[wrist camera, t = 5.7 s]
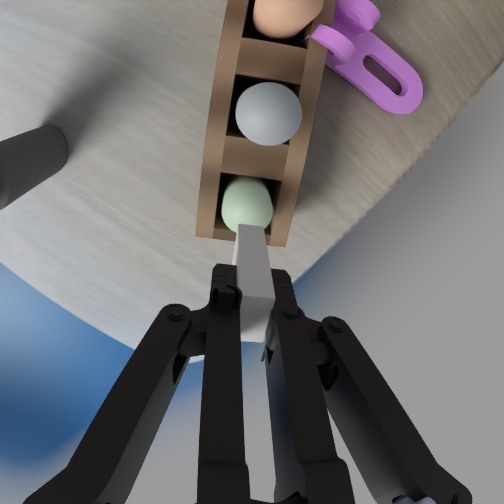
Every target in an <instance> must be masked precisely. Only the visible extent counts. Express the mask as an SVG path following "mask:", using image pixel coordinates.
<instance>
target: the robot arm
mask: <svg viewBox="0 0 504 504" xmlns="http://www.w3.org/2000/svg"><path fill="white" fill-rule="evenodd" d="M265 335H266V345H265V349H264V352H263V356H262V360H261V361H264V358H265V364H266V365H265V366H266V376H267V387H268V398H269V408H270V420H271V431H272V442H273V452H274V463H275V475H276V486H275V490H274V503H268V502H263V501H258V500H253V499H250V484H249V470H248V466H247V464H246V461H245V445H244V420H243V393H242V363H241V341H249V342H264V338H265ZM199 355H205V357H204V371H203V385H202V399H201V416H200V433H199V456H198V480H197V481H198V482H197V503H195V504H355V499H354V494H353V490H352V485H351V479H350V475H349V470H348V467H347V464H346V463H345V461H344V460H342V459H340V458H339V457H338V456H337V453H336V449H335V444H334V439H333V434H332V430H331V425H330V420H329V415H328V411H329V413H330V414H331V416H332V418H333V420H334V422H335V424H336V426H337V428H338V430H339V432H340V434H341V436H342V438H343V440H344V442H345V444H346V446H347V448H348V450H349V452H350V454H351V456H352V458H353V459H354V462H355V463H356V466H357V467H358V469H359V471H360V473H361V475H362V477H363V479H364V481H365V483H366V485H367V487H368V489H369V491H370V492H371V494H372V496H373V498H374V499H375V501H376V502H377V503H378V504H472V495H471V493H470V491H469V490H468V489H467V488H466V487H465V486H464V485H462V484H461V483H460V482H459V481H458V480H456V479H455V478H454V477H453V476H452V475H451V474H449V473H448V472H447V471H446V470H445V469H443V468H442V467H441V466H440V465H439V464H437V462H436V460H435V459H434V457H433V455H432V454H431V452H430V450H429V449H428V447H427V445H426V444H425V442H424V441H423V439H422V437H421V436H420V434H419V433H418V431H417V429H416V428H415V426H414V424H413V423H412V421H411V420H410V418H409V417H408V415H407V414H406V412H405V410H404V409H403V407H402V406H401V404H400V403H399V401H398V399H397V398H396V396H395V395H394V393H393V392H392V390H391V389H390V387H389V385H388V384H387V382H386V381H385V379H384V378H383V376H382V375H381V373H380V372H379V370H378V369H377V367H376V366H375V364H374V363H373V361H372V360H371V358H370V357H369V355H368V354H367V352H366V351H365V349H364V348H363V346H362V345H361V343H360V342H359V340H358V339H357V338H356V336H355V335H354V333H353V332H352V330H351V329H350V327H349V326H348V324H347V323H345V321H344V320H342V319H340V318H337V317H334V316H332V317H331V316H329V317H326V318H324V319H323V320H322V322H319V321H315V320H312V319H309V318H307V317H306V316H305V314H304V313H303V310H301V309H300V308H299V307H298V306H297V302H296V298H295V294H294V290H293V286H292V282H291V278H290V275H289V274H288V273H287V272H286V271H285V270H280V269H271V268H270V263H269V257H268V251H267V245H266V239H265V233H264V227H262V226H254V225H246V224H238V228H237V235H236V241H235V248H234V254H233V261H232V265H228V264H219V263H217V264H216V266H215V267H214V268H213V272H212V281H211V291H210V300H209V303H208V304H207V306H205V307H204V308H202V309H200V310H195V311H190V309H189V308H188V307H186V306H184V305H182V304H169V305H167V306H164V307H163V308H162V309H161V311H160V312H159V314H158V315H157V317H156V318H155V320H154V321H153V323H152V325H151V326H150V328H149V329H148V331H147V332H146V334H145V335H144V337H143V339H142V340H141V342H140V343H139V345H138V346H137V348H136V350H135V351H134V353H133V355H132V356H131V358H130V359H129V361H128V362H127V364H126V366H125V367H124V369H123V371H122V372H121V374H120V376H119V377H118V379H117V380H116V382H115V384H114V385H113V387H112V389H111V390H110V392H109V394H108V395H107V397H106V399H105V400H104V402H103V404H102V405H101V407H100V409H99V410H98V412H97V414H96V416H95V417H94V419H93V421H92V422H91V424H90V426H89V428H88V430H87V431H86V433H85V435H84V437H83V438H82V440H81V442H80V443H79V445H78V447H77V449H76V451H75V453H74V454H73V456H72V458H71V460H70V462H69V463H68V465H67V467H66V468H65V469H63V470H62V471H61V472H60V473H58V474H57V475H56V476H55V477H53V478H52V479H51V480H50V481H48V482H47V483H46V484H44V485H43V486H42V487H41V488H39V489H38V490H37V491H35V492H34V493H33V494H31V495H30V496H29V497H27V498H26V500H25V501H24V502H23V504H124V503H125V502H126V500H127V498H128V496H129V494H130V492H131V490H132V487H133V485H134V483H135V480H136V478H137V476H138V474H139V471H140V469H141V467H142V464H143V462H144V460H145V458H146V455H147V453H148V451H149V449H150V446H151V444H152V442H153V440H154V437H155V435H156V433H157V431H158V428H159V426H160V424H161V422H162V419H163V417H164V415H165V413H166V410H167V408H168V406H169V404H170V402H171V399H172V397H173V395H174V392H175V390H176V388H177V386H178V384H179V382H180V379H181V377H182V375H183V373H184V371H185V368H186V366H187V364H188V362H189V360H190V357H192V356H199ZM327 408H328V411H327Z"/></svg>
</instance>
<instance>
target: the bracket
mask: <svg viewBox="0 0 504 504" xmlns="http://www.w3.org/2000/svg"><path fill="white" fill-rule="evenodd" d="M380 17H381V15H380V12H379V10H378V9H377V8H376V6H375V5H374V4H373V3H371V2H370V1H369V0H336V4H335V10H334V16H333V22H332V27H331V28H330V27H328V26H325V25H321V24H320V25H319V26H318V27H317V29H316V30H315V31H314V33H313V34H312V35H311V37H312V38H313V39H315V40H316V41H318V42H319V43H321V44H322V45H324V46H325V47H327V48H328V50H327V55H326V61H325V65H327V66H328V67H330V68H331V69H333V70H334V71H335V72H337V73H338V74H339V75H341V76H342V77H343V78H345V79H346V80H347V81H349V82H350V83H351V84H353V85H354V86H355V87H357V88H358V89H359V90H360V91H362V92H363V93H364V94H365V95H367V96H368V97H369V98H370V99H372V100H373V101H374V102H375V103H376V104H377V105H379V106H380V107H381V108H382V109H384V110H386V111H388V112H392V113H396V114H408V113H411V112H413V111H414V110H415V109H416V108H417V107H418V106H419V105H420V103H421V100H422V97H423V86H422V82H421V79H420V77H419V75H418V74H417V72H416V71H415V70H414V69H413V68H412V67H411V66H410V65H409V64H408V63H407V62H406V61H405V60H404V59H402V58H401V57H400V56H399V55H398V54H397V53H396V52H395V51H393V50H392V49H391V48H390V47H389V46H388V45H386V44H385V43H384V42H383V41H382V40H380V39H379V38H378V37H377V36H376V35H374V34H373V33H372V32H370V31H369V30H371V29H372V28H373V27H374V25H375V24H376V23H377V21H378V20H379V19H380ZM309 37H310V35H308V36H307V37H306V38H305V39H304V40H306V39H307V38H309ZM304 40H303V41H304ZM303 41H301V42H303ZM301 42H300V43H301ZM300 43H299V44H300ZM365 56H369V57H371V58H372V59H373V60H375V61H376V62H377V63H378V64H380V65H381V66H382V67H383V68H384V69H385V70H387V71H388V72H389V73H390V74H391V75H392V76H393V77H395V78H396V79H397V80H398V81H399V82H400V84H401V87H402V90H401V93H400V94H399V95H396V94H395V93H393V92H392V91H391V90H390V89H389V88H388V87H387V86H385V85H384V84H383V83H382V82H381V81H380V80H378V79H377V78H376V77H375V76H374V75H372V74H371V73H370V72H369V71H368V70H366V69H365V67H364V65H363V59H364V57H365Z"/></svg>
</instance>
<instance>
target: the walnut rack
mask: <svg viewBox="0 0 504 504" xmlns="http://www.w3.org/2000/svg"><path fill="white" fill-rule="evenodd" d="M250 3H253V4H255V0H228V4H227V9H226V14H225V19H224V24H223V29H222V35H221V40H220V46H219V51H218V57H217V63H216V69H215V75H214V82H213V88H212V95H211V102H210V109H209V116H208V123H207V131H206V139H205V147H204V155H203V164H202V173H201V182H200V192H199V202H198V213H197V224H196V237H204V238H212V239H221V240H229V241H236V235H237V233H236V232H234V231H232V230H231V229H230V228H229V227H228V226H227V225H226V224H225V222H224V220H223V217H222V203H218V199H219V191H220V183H221V175H222V172H223V173H231V174H238V175H246V176H253V177H260V178H267V179H271V184H270V189H269V196H270V199H271V203H272V207H273V215H272V219H271V221H270V223H269V224H268V226H267V227H266V228H265V229H264V233H265V239H266V245H270V246H279V247H286V243H287V239H288V234H289V230H290V226H291V222H292V217H293V213H294V209H295V204H296V200H297V196H298V191H299V187H300V182H301V178H302V173H303V169H304V164H305V160H306V155H307V150H308V146H309V141H310V136H311V131H312V127H313V122H314V117H315V112H316V107H317V102H318V97H319V92H320V87H321V82H322V77H323V71H324V66H325V61H326V55H327V50H328V48H327V47H325V46H324V45H322V44H321V43H319V42H318V41H316V40H315V39H313V38H312V37H311V35H312V34H313V33H314V31H315V30H316V29H317V27H318V26H319V25H320V24H321V25H325V26H328V27H330V28H331V27H332V22H333V16H334V10H335V4H336V0H323V7H322V10H321V11H320V13H319V14H318V15H317V16H316V17H315V18H314V19H313V20H312V21H311V22H310V23H308V24H307V25H306V26H305V27H304V28H303V29H302V30H301V31H300V32H299V34H298V40H297V45H296V47H295V46H290V45H285V44H280V43H274V42H268V41H262V40H256V39H249V38H243V35H244V30H245V25H246V20H247V14H248V9H249V4H250ZM308 35H310V37H309V38H307V39H306V40H304V39H305V38H306V37H307V36H308ZM303 40H304V41H303ZM301 41H303V42H301ZM300 42H301V43H300ZM299 43H300V44H299ZM236 77H239V78H246V79H253V80H260V81H266V82H272V83H277V84H283V85H288V86H289V88H288V89H290V90H291V91H292V92H293V93H294V94H295V95H296V96H297V98H298V100H299V102H300V104H301V108H302V121H301V124H300V127H299V129H298V130H297V132H296V133H295V134H294V136H292V137H291V138H290V139H289V140H287V141H286V142H284V143H281V144H278V145H273V146H266V145H260V144H257V143H255V142H253V141H251V140H249V139H248V138H247V137H246V136H245V135H244V134H243V133H242V132H241V130H240V129H239V128H234V127H228V126H229V119H230V112H231V106H232V100H233V93H234V87H235V81H236Z"/></svg>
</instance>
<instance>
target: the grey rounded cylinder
mask: <svg viewBox="0 0 504 504" xmlns="http://www.w3.org/2000/svg"><path fill="white" fill-rule="evenodd" d="M236 121H237V124H238V127H239V129H240V130H241V132H242V133H243V134H244V135H245V136H246V137H247V138H248V139H249V140H251V141H253V142H255V143H257V144H260V145H266V146H273V145H278V144H281V143H284V142H286V141H287V140H289V139H290V138H291V137H292V136H294V134H295V133H296V132H297V130H298V129H299V127H300V124H301V121H302V108H301V104H300V102H299V100H298V98H297V96H296V95H295V94H294V93H293V92H292V91H291V90H290V89H288V88H287V87H285V86H283V85H281V84H277V83H272V82H265V83H260V84H257V85H254V86H252V87H250V88H248V89H246V90H245V91H244V92H243V93H242V94H241V96H240V97H239V99H238V102H237V107H236Z"/></svg>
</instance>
